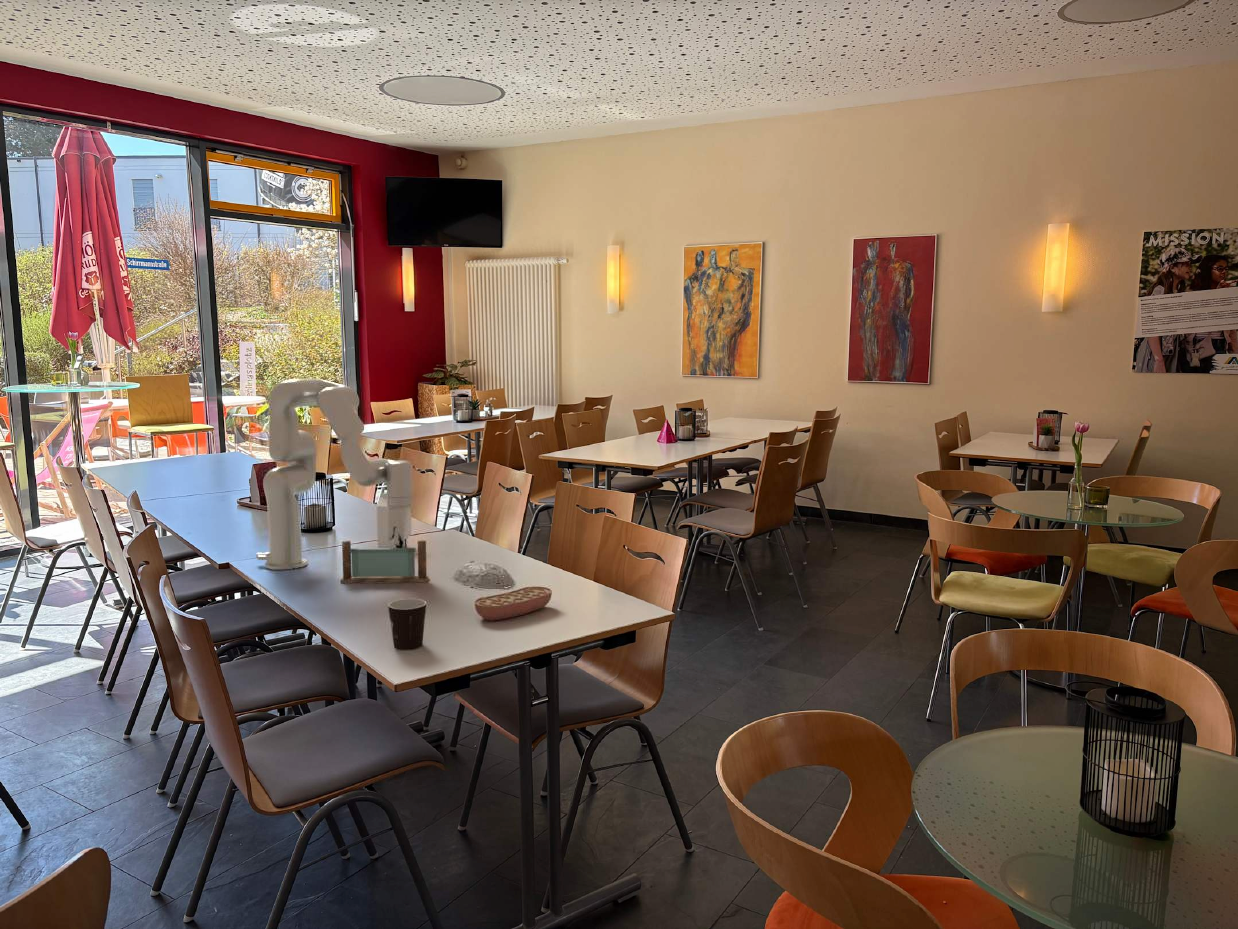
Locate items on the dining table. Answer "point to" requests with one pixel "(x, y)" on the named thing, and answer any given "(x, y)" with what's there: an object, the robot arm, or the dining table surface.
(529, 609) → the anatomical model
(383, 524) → the milk carton
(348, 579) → the gate frame
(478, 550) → the dining table surface
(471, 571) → the grey rock
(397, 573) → the gate leaf
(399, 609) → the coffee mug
